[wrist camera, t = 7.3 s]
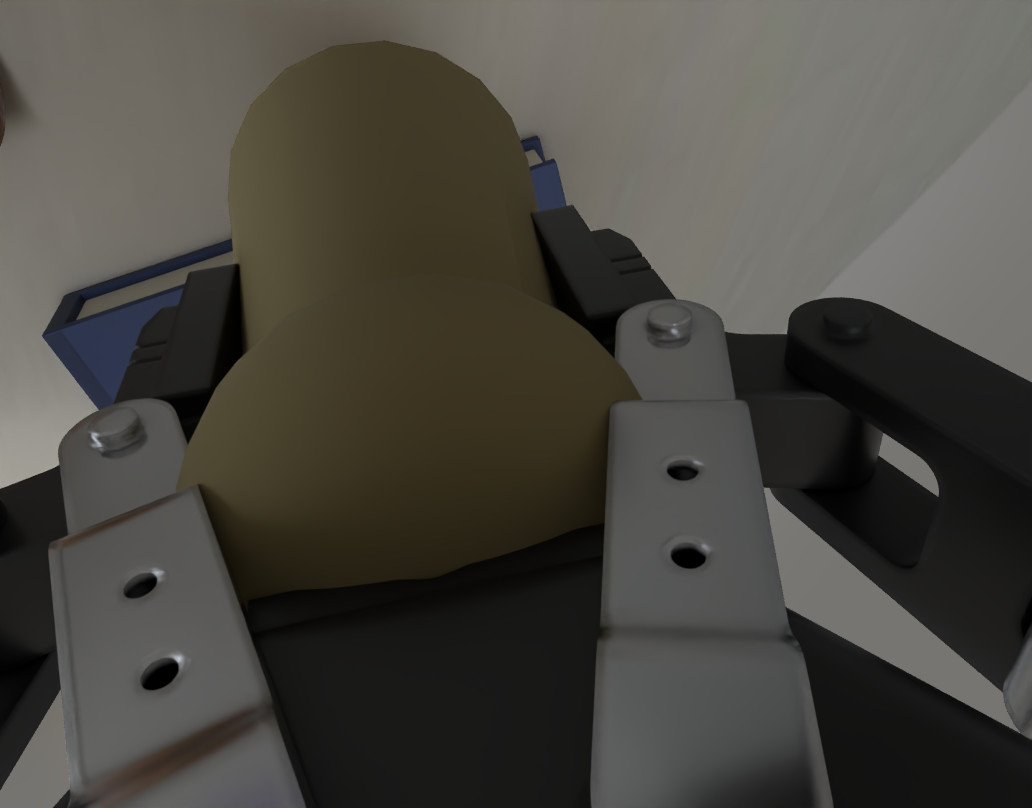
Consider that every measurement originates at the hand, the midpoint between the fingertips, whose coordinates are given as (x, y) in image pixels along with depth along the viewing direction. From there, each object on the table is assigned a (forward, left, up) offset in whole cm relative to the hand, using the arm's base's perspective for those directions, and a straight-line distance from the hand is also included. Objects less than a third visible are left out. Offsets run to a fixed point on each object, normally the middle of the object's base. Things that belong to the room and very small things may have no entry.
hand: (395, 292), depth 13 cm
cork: (0, 0, -4) cm, 4 cm away
